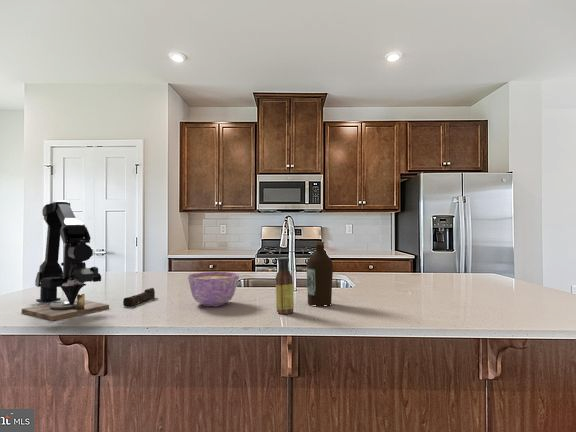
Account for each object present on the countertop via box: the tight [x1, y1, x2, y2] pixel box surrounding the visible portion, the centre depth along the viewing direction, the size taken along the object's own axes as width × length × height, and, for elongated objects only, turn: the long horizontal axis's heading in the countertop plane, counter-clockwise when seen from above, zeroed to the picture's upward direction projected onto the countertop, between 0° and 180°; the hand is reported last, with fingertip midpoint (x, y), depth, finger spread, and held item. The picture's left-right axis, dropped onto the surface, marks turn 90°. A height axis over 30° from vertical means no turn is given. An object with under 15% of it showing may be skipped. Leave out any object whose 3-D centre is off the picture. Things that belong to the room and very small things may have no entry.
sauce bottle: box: [275, 257, 294, 315], centre depth 132 cm, size 6×6×20 cm
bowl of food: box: [187, 271, 240, 307], centre depth 145 cm, size 20×20×12 cm
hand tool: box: [122, 287, 156, 308], centre depth 148 cm, size 19×4×5 cm, turn 167°
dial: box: [49, 293, 86, 309], centre depth 132 cm, size 14×10×5 cm
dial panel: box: [21, 299, 110, 322], centre depth 132 cm, size 20×20×2 cm
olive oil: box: [305, 241, 334, 306], centre depth 146 cm, size 11×11×25 cm
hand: (71, 304), depth 126 cm, fingers closed
